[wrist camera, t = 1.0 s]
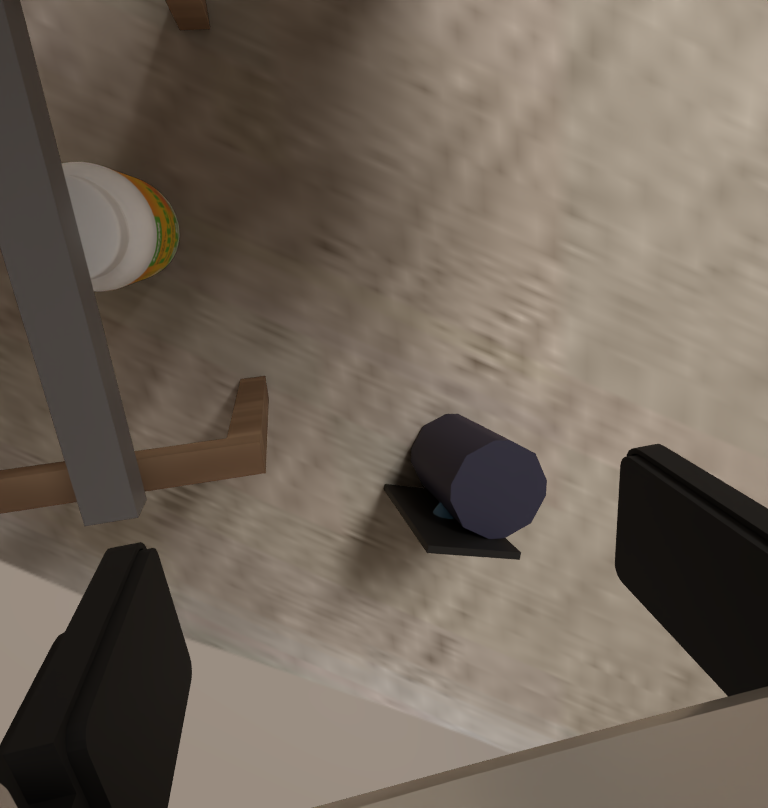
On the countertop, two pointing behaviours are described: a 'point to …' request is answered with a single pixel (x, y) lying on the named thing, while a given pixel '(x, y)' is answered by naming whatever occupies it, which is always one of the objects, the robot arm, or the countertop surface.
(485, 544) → the speaker
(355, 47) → the countertop surface
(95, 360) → the tie bar
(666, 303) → the countertop surface
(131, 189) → the supplement bottle
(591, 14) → the countertop surface
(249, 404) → the frame
